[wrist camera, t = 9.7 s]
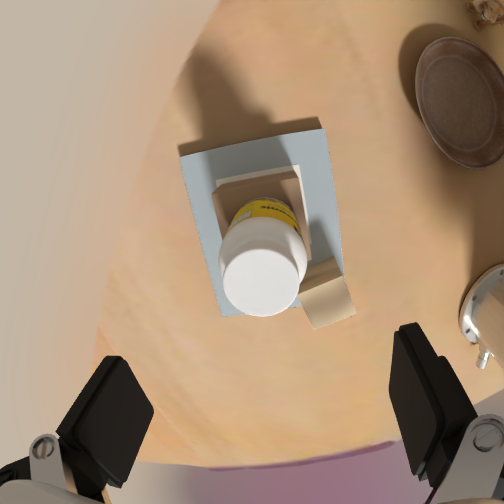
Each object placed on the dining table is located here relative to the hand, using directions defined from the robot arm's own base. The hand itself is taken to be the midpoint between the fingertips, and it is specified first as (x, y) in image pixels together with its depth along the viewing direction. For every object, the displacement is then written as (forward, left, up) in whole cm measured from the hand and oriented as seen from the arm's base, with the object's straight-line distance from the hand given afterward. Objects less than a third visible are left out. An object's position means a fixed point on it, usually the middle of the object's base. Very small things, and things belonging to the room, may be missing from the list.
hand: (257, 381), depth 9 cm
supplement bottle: (0, 0, -17) cm, 17 cm away
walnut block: (0, 0, -21) cm, 21 cm away
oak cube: (-8, -4, -21) cm, 23 cm away
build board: (-2, 0, -23) cm, 23 cm away
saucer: (+9, -24, -23) cm, 34 cm away
